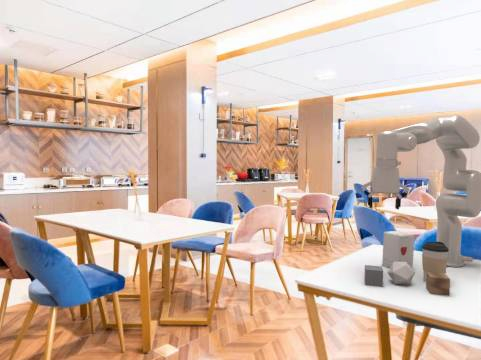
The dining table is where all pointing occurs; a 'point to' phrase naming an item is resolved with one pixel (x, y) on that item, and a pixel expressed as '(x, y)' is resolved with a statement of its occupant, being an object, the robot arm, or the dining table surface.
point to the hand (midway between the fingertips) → (383, 208)
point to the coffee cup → (434, 258)
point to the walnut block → (438, 284)
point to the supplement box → (398, 248)
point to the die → (401, 273)
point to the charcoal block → (373, 276)
